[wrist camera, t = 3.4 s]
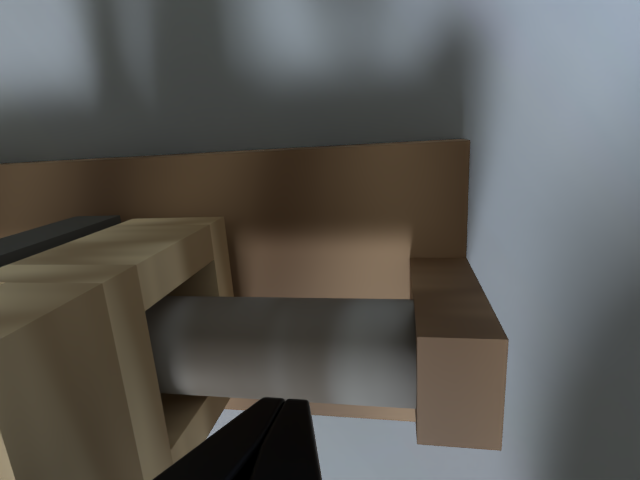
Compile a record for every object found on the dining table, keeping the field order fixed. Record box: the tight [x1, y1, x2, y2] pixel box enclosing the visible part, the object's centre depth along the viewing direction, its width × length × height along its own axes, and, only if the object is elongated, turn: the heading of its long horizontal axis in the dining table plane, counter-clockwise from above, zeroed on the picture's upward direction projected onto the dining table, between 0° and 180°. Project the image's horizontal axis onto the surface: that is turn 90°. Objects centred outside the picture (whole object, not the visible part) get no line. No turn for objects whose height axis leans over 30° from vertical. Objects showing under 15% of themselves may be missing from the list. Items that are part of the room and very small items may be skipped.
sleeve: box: [0, 217, 234, 480], centre depth 10 cm, size 3×5×8 cm, turn 4°
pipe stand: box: [0, 139, 508, 451], centre depth 13 cm, size 23×9×6 cm, turn 94°
